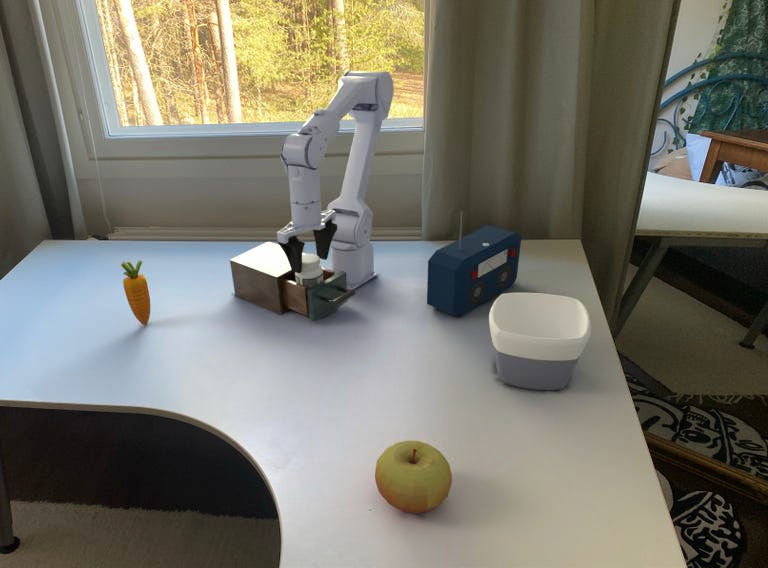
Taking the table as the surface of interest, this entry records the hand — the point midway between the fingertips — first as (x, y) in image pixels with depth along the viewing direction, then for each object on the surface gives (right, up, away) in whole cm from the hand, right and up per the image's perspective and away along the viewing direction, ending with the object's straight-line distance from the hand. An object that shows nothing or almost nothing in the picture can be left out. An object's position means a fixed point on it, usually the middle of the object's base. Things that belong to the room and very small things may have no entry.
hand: (309, 264), depth 125 cm
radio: (+34, -6, +4) cm, 35 cm away
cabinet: (-7, -5, +13) cm, 16 cm away
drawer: (+1, -8, +5) cm, 10 cm away
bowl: (+37, -20, -19) cm, 46 cm away
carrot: (-34, -12, +6) cm, 37 cm away
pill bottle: (0, -7, +4) cm, 9 cm away
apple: (+13, -36, -40) cm, 55 cm away
